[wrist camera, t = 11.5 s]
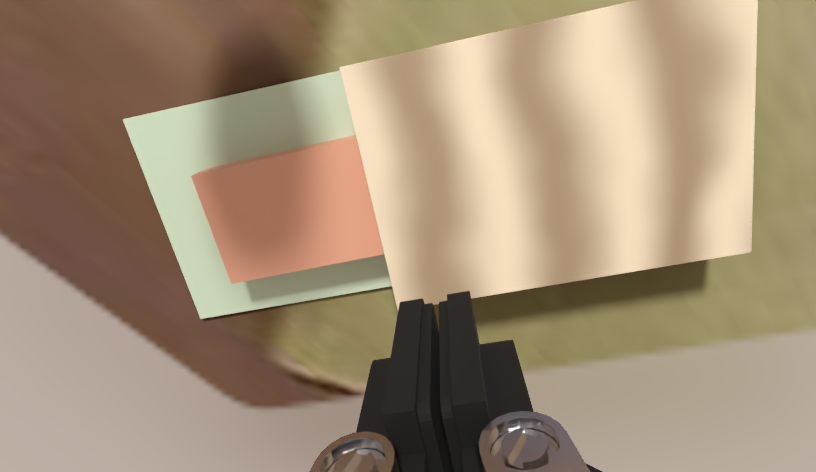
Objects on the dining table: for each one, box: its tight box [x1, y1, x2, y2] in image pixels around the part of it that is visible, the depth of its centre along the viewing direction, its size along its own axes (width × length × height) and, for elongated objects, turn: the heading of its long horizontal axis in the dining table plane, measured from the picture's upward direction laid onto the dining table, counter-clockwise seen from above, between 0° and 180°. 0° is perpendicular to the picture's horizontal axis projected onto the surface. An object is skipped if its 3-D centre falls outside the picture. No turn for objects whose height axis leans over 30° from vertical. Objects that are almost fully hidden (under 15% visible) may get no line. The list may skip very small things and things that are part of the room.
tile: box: [191, 135, 384, 284], centre depth 29 cm, size 10×7×2 cm
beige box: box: [340, 0, 758, 310], centre depth 27 cm, size 20×14×4 cm
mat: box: [123, 71, 392, 319], centre depth 30 cm, size 14×14×1 cm
